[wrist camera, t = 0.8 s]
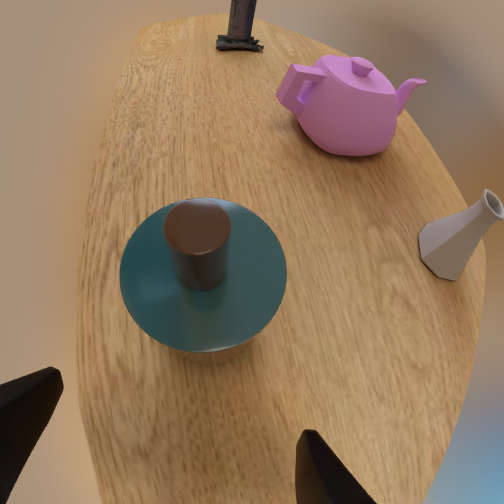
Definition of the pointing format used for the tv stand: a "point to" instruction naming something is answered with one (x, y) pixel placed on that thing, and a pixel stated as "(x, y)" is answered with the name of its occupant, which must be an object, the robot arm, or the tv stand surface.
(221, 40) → the beverage can
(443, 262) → the flask
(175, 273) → the lid
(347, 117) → the teapot
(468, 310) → the tv stand surface
